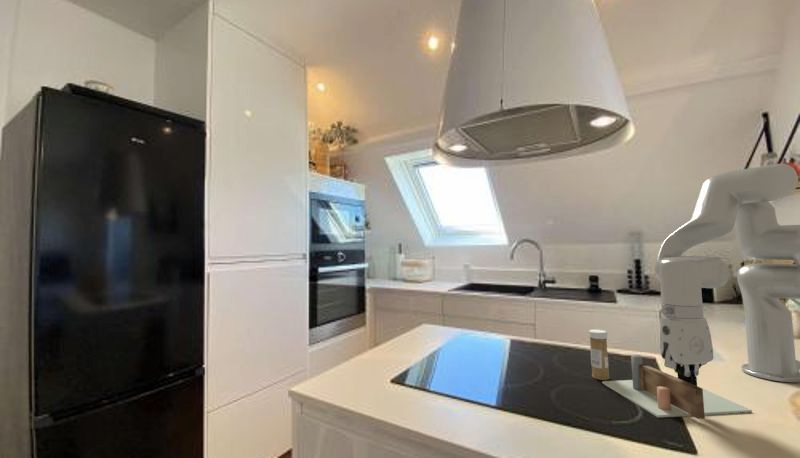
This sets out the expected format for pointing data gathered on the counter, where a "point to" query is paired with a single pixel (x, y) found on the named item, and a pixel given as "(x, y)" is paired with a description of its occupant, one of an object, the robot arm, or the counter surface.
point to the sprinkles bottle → (599, 354)
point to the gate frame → (667, 397)
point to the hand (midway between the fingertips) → (688, 391)
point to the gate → (673, 390)
